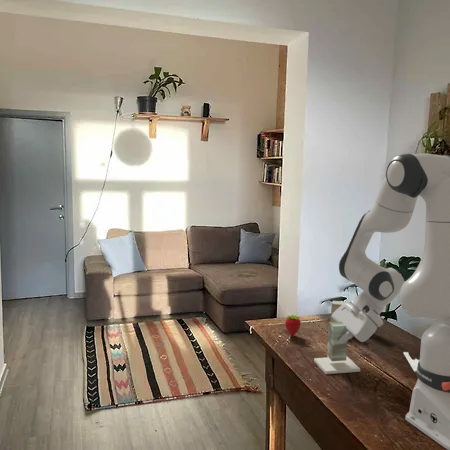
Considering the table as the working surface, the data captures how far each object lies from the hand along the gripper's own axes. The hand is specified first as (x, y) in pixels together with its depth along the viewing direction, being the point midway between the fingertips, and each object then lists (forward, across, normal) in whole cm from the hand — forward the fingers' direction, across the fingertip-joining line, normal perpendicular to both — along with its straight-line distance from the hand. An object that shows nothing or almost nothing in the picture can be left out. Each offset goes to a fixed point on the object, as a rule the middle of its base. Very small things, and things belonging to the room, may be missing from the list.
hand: (335, 338), depth 151 cm
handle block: (+4, 0, +5) cm, 7 cm away
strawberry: (+11, -28, +3) cm, 30 cm away
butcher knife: (-13, +2, +28) cm, 31 cm away
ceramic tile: (+6, 0, +7) cm, 10 cm away
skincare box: (-3, -30, +17) cm, 35 cm away
